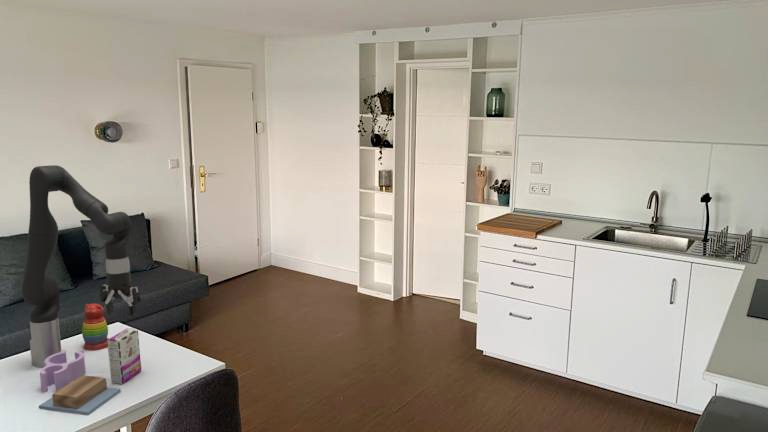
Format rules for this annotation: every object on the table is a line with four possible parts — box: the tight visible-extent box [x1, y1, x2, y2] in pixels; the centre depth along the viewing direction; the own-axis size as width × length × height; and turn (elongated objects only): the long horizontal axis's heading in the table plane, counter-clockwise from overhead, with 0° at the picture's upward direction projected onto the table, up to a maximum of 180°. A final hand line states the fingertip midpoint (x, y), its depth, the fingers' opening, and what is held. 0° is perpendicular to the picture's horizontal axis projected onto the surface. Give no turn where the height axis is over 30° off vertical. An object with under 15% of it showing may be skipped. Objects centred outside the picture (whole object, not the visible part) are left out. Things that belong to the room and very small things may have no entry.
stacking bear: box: [81, 303, 111, 351], centre depth 237 cm, size 11×10×18 cm
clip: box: [39, 349, 86, 393], centre depth 210 cm, size 20×12×7 cm, turn 6°
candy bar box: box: [107, 327, 142, 385], centre depth 210 cm, size 11×5×16 cm, turn 168°
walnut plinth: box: [51, 374, 108, 409], centre depth 195 cm, size 9×14×4 cm, turn 168°
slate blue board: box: [38, 386, 122, 416], centre depth 195 cm, size 18×16×1 cm
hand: (121, 314), depth 207 cm, fingers open, 8 cm apart
